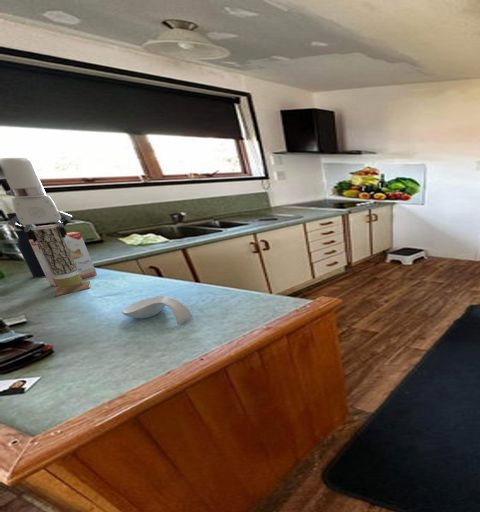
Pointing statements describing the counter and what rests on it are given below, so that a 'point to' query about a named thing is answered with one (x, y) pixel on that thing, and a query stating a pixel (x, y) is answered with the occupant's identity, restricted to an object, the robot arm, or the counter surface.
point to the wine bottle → (27, 250)
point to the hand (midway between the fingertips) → (50, 238)
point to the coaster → (72, 289)
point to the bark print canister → (57, 255)
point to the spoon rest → (157, 308)
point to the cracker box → (77, 253)
